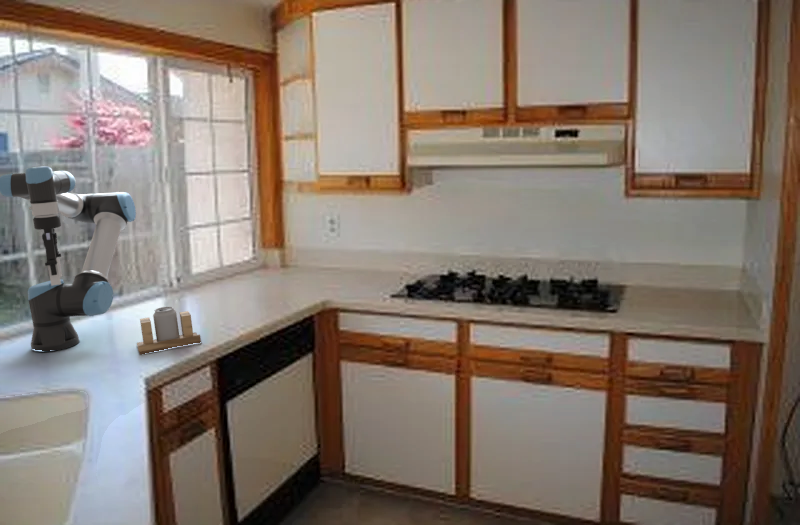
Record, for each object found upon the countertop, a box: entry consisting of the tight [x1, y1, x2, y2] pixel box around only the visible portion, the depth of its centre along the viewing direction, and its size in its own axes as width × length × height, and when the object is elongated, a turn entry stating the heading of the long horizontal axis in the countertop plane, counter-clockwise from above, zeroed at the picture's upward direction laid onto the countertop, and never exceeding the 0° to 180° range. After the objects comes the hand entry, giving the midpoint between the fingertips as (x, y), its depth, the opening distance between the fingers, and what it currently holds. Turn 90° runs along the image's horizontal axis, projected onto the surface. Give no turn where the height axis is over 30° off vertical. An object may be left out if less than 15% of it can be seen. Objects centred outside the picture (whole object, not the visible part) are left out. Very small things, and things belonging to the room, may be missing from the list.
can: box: [152, 306, 180, 342], centre depth 222 cm, size 8×8×12 cm
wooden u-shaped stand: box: [136, 310, 202, 356], centre depth 222 cm, size 12×20×10 cm, turn 115°
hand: (57, 281), depth 209 cm, fingers open, 13 cm apart
